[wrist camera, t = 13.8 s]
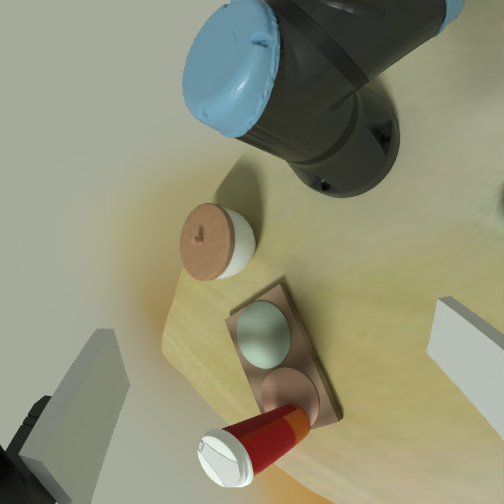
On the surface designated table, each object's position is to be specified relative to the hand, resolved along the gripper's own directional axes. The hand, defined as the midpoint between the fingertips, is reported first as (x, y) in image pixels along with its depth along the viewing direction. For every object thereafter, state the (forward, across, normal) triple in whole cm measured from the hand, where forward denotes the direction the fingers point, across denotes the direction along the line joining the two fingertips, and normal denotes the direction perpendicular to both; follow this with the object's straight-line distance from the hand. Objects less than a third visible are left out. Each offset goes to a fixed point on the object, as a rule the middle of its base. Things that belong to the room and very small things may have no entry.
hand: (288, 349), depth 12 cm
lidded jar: (+38, 0, -6) cm, 39 cm away
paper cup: (+21, +5, -27) cm, 34 cm away
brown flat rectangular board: (+27, +4, -21) cm, 34 cm away
